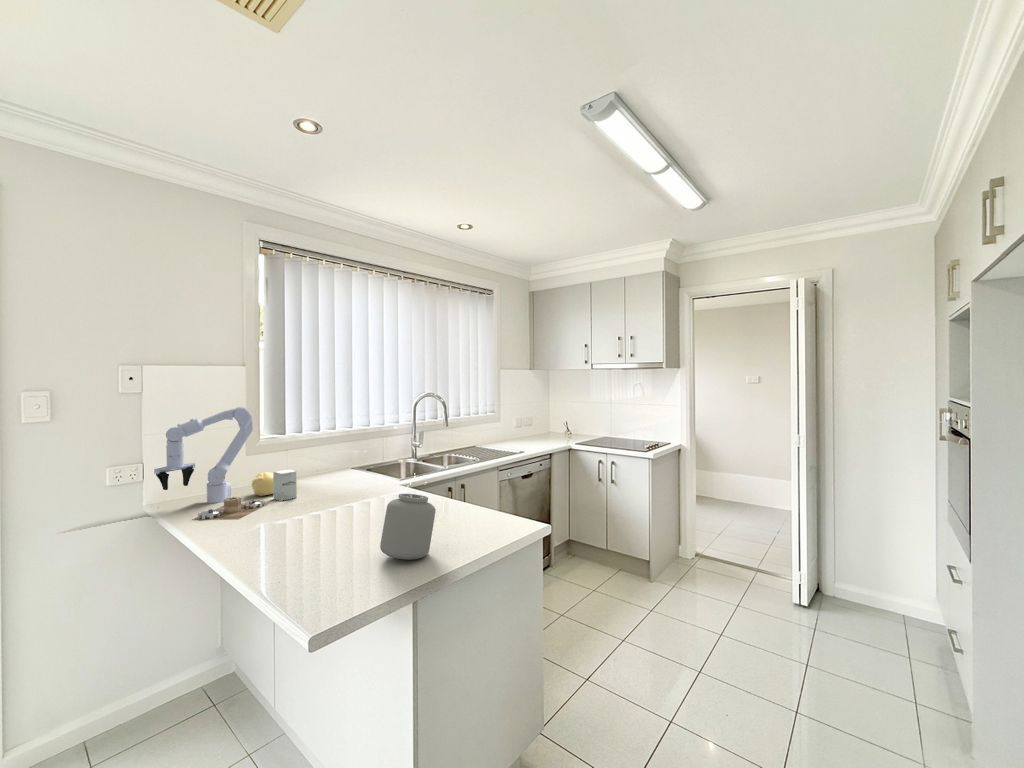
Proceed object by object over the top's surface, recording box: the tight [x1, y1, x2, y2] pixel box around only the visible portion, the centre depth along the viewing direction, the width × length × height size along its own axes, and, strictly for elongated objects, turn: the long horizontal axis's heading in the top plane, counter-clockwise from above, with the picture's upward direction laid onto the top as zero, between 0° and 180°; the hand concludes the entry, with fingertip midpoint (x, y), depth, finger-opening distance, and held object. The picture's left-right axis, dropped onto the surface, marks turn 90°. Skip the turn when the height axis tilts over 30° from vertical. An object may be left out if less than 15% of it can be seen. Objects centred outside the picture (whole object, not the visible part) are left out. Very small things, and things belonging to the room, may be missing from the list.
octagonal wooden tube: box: [223, 496, 242, 513], centre depth 179 cm, size 6×6×5 cm
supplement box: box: [272, 469, 298, 502], centre depth 203 cm, size 7×7×13 cm
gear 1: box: [197, 508, 224, 521], centre depth 172 cm, size 8×8×2 cm
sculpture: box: [251, 471, 274, 497], centre depth 211 cm, size 12×12×11 cm
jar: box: [379, 472, 437, 560], centre depth 135 cm, size 19×15×25 cm
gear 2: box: [241, 499, 266, 509], centre depth 185 cm, size 8×8×3 cm
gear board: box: [191, 502, 271, 521], centre depth 179 cm, size 22×18×5 cm
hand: (175, 487), depth 186 cm, fingers open, 7 cm apart
